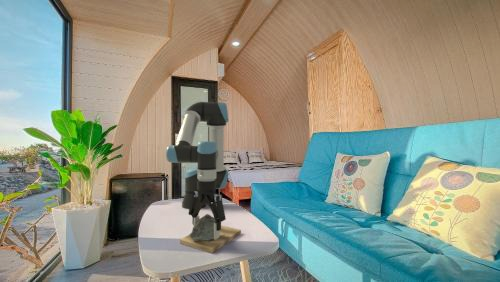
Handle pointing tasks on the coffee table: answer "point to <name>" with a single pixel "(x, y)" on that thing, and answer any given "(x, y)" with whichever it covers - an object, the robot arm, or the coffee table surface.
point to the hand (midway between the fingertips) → (206, 235)
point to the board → (212, 240)
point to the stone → (203, 228)
